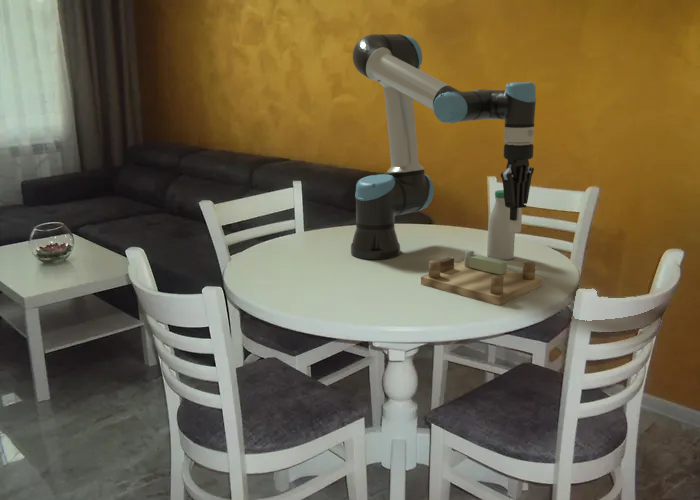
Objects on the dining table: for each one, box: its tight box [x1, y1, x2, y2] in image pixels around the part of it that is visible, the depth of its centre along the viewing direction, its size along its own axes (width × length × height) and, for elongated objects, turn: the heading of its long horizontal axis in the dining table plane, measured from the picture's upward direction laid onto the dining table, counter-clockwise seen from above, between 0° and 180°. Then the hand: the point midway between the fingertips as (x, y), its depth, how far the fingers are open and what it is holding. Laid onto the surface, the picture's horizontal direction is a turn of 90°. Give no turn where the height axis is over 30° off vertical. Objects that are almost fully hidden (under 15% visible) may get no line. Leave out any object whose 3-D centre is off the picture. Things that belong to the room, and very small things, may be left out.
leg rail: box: [464, 250, 508, 275], centre depth 181 cm, size 12×3×4 cm, turn 45°
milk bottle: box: [486, 189, 516, 261], centre depth 197 cm, size 8×8×20 cm
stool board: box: [420, 256, 543, 306], centre depth 175 cm, size 24×20×6 cm
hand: (515, 231), depth 181 cm, fingers closed
